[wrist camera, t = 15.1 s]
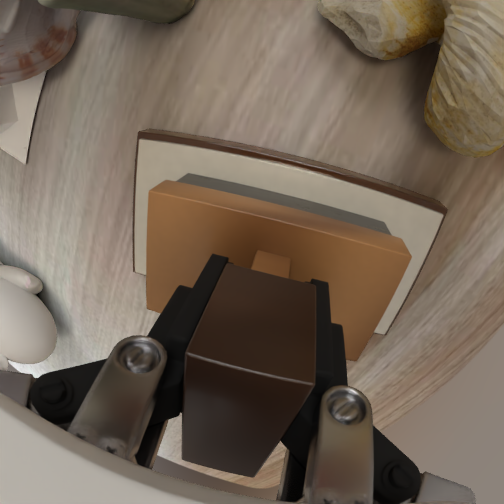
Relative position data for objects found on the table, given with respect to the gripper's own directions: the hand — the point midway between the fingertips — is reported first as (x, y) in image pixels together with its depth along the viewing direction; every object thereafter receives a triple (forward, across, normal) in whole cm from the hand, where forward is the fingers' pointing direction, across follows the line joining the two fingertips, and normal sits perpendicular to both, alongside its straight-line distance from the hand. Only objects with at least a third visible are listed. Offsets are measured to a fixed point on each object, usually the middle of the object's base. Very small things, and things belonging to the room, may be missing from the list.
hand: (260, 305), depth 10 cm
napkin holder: (+6, +20, -10) cm, 23 cm away
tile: (+6, 0, 0) cm, 6 cm away
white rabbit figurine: (+6, +22, +10) cm, 25 cm away
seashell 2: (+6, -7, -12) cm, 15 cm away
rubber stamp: (+4, 0, 0) cm, 4 cm away
